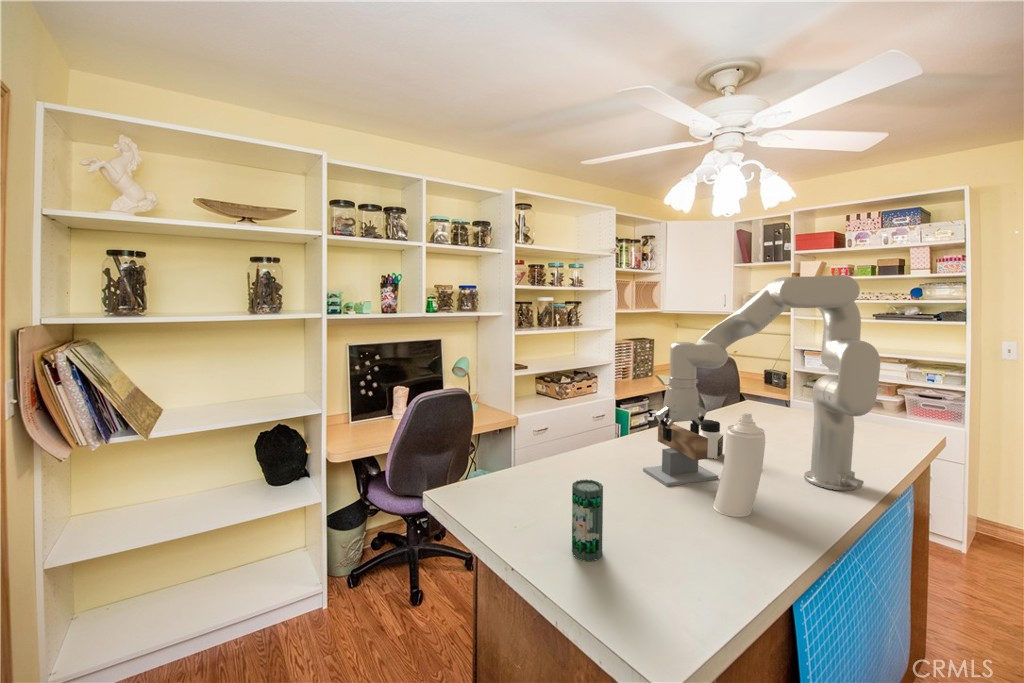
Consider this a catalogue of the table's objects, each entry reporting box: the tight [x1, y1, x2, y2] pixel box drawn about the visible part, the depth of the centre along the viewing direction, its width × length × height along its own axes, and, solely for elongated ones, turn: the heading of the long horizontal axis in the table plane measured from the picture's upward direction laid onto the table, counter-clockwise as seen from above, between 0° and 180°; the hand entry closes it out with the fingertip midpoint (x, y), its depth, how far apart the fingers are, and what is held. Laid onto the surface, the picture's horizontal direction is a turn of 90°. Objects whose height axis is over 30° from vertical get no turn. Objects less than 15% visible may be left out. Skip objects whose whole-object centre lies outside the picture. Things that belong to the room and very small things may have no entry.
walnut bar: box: [657, 422, 708, 461], centre depth 137 cm, size 18×4×6 cm, turn 17°
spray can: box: [712, 412, 766, 518], centre depth 115 cm, size 12×11×25 cm
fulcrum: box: [642, 447, 719, 487], centre depth 138 cm, size 12×18×8 cm, turn 107°
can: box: [571, 479, 604, 562], centre depth 96 cm, size 6×6×15 cm
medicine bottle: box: [699, 418, 724, 460], centre depth 155 cm, size 7×7×12 cm
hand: (680, 438), depth 137 cm, fingers open, 9 cm apart
